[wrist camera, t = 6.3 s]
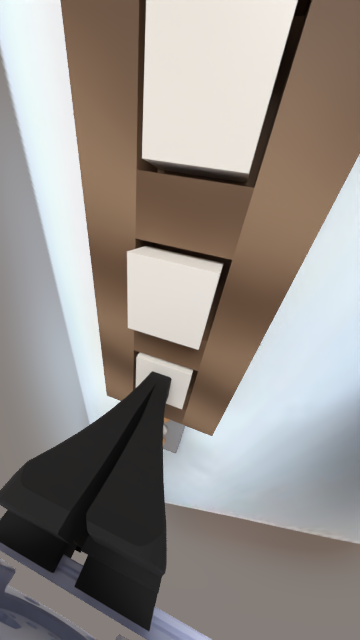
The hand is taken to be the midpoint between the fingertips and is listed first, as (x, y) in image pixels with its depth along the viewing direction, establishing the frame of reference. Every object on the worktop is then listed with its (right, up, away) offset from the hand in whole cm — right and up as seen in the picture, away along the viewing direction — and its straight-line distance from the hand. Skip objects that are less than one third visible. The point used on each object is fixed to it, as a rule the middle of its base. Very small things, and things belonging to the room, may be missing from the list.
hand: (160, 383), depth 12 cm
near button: (+3, +12, -6) cm, 13 cm away
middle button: (+1, +6, -3) cm, 7 cm away
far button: (+1, +1, +1) cm, 2 cm away
